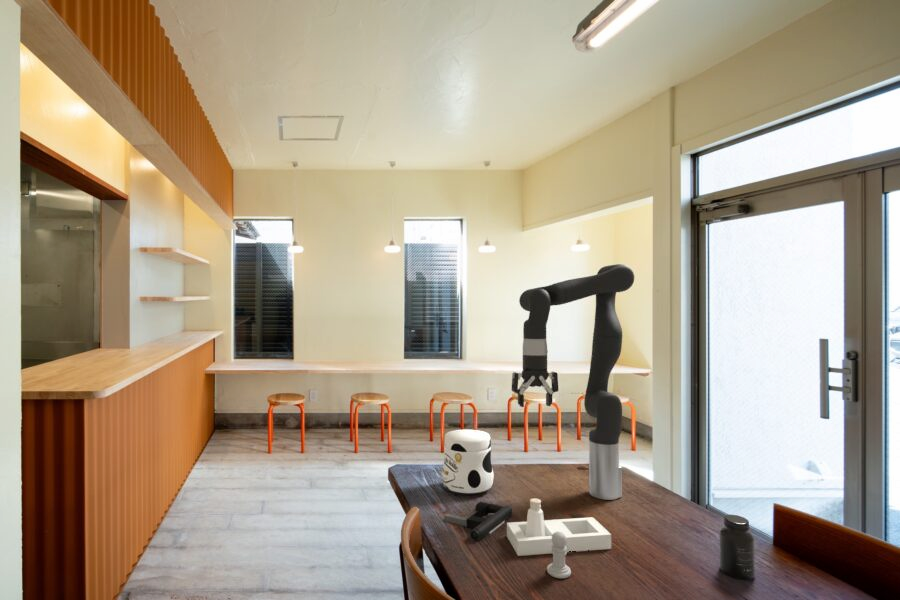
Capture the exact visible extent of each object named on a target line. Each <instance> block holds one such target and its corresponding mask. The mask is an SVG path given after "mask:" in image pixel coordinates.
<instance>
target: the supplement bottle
mask: <svg viewBox="0 0 900 600" xmlns="http://www.w3.org/2000/svg"><path fill="white" fill-rule="evenodd" d="M723 520H724V521H723V526H722V527H721V528H720V529H719V533H718V534H719V536H718V537H719V540H718V541H719V546H718V547H719V567H720V569H721V571H722V572H723V573H724V574H726V575H728V576H729V577H731V578H734V579H736V580H743V581H749V580H753V578H755V576H756V553H755V551H756V549H755V547H756V545H755V537H754V536H753V534H752V533H751V532H750V524H749V523H750V522H749V520H748V519H747V518H745V517H744V516H741V515H737V514H726V515H724V517H723Z"/></svg>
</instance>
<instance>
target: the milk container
mask: <svg viewBox="0 0 900 600" xmlns="http://www.w3.org/2000/svg"><path fill="white" fill-rule="evenodd" d="M443 444H444V462H443V465H442V470H441V480H442V481H441V482H442V486H443V487H444V488H445V489H446V490H447V491H448V492H451V493H454V494H457V495H463V496H464V495H465V496H473V495H480V494H484V493H486V492H487V491H489V490H490V489H491V488H492V487H493V483H494V475H495V474H494V470H493V466H492V460H491V459H492V455H491V454H492V438H491V435H490V434H489V432H486V431H483V430H478V429H476V430H475V429H467V428H466V429H465V428H464V429H454V430H450V431H447V432H446V433H445V435H444V443H443Z"/></svg>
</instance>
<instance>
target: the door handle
mask: <svg viewBox="0 0 900 600" xmlns="http://www.w3.org/2000/svg"><path fill="white" fill-rule="evenodd" d="M475 509H476V512H475V513H473V514H472V515H470V516H469V517H466V516H462V515H456V514H452V513H445V514H444V515H443V517H444V519H443V520H444V521H446V522H449V523H453V524H456V525H459V526H463V527H466V529H469V530H471V531H470V533H469V535H470V538H471V540H472V541H475V542H477V541H480V540H481V539H483V538H484V537H486V536H487V535H491V534H492V533H493V532H494V531H496V530H497V529H498V528H500V527H501V526H502V525H504V524H505V521H506V520H507V519H508V518H510V517H512V516H513V515H512V514H513V508H512V507H511V506H510V505H504V506H502V505H499V504H495V503H494V504H492V503H488V502H483V501H478V502H477V503H476V505H475ZM486 514H487V515H486ZM485 516H487V518H486V517H485Z"/></svg>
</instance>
